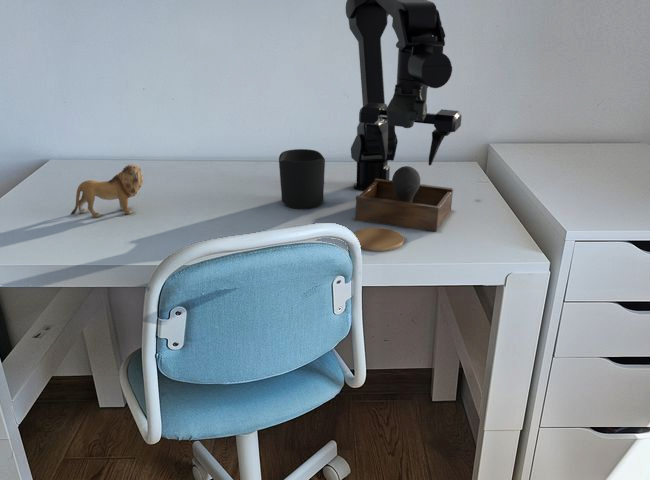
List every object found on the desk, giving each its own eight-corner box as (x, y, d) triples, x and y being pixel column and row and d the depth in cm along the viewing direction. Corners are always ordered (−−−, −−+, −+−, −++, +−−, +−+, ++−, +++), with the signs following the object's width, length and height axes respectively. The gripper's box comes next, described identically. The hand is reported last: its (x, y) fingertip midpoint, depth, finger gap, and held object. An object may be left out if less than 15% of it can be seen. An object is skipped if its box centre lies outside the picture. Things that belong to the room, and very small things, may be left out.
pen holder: (333, 200, 149) (333, 153, 144) (310, 213, 142) (309, 164, 137) (295, 192, 153) (294, 146, 147) (271, 205, 145) (269, 157, 140)
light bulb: (421, 213, 143) (425, 165, 138) (412, 222, 139) (415, 172, 134) (396, 209, 145) (399, 161, 140) (386, 217, 141) (388, 168, 136)
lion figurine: (144, 203, 145) (138, 160, 140) (149, 212, 140) (143, 167, 136) (69, 213, 139) (60, 168, 134) (72, 222, 135) (63, 176, 130)
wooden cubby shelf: (354, 220, 139) (355, 196, 137) (375, 200, 149) (375, 178, 147) (436, 232, 134) (438, 208, 132) (451, 210, 145) (453, 188, 142)
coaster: (342, 246, 127) (342, 243, 127) (360, 227, 135) (360, 224, 135) (394, 254, 125) (394, 251, 124) (409, 235, 133) (409, 232, 132)
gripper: (349, 80, 124) (348, 167, 132) (452, 90, 119) (444, 179, 127) (369, 71, 133) (367, 152, 141) (465, 79, 128) (457, 163, 136)
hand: (407, 162), depth 136 cm, fingers open, 9 cm apart
